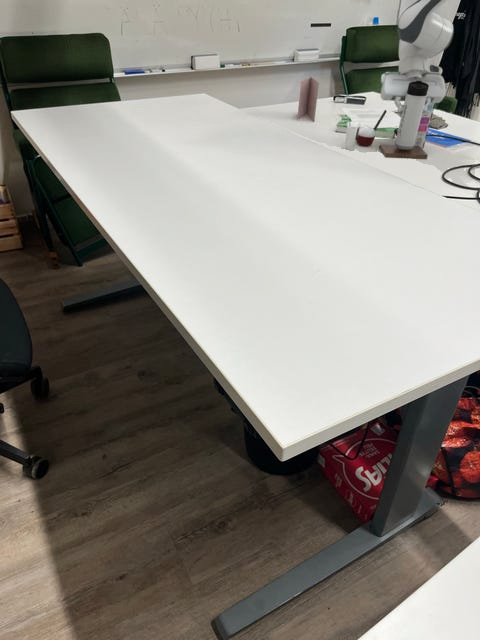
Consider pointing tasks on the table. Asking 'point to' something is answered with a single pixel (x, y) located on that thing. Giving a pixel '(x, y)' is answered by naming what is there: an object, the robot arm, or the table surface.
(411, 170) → the table surface
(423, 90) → the travel mug
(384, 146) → the walnut board
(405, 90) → the robot arm
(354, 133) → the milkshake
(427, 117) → the candy bar box
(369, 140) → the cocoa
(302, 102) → the greeting card
